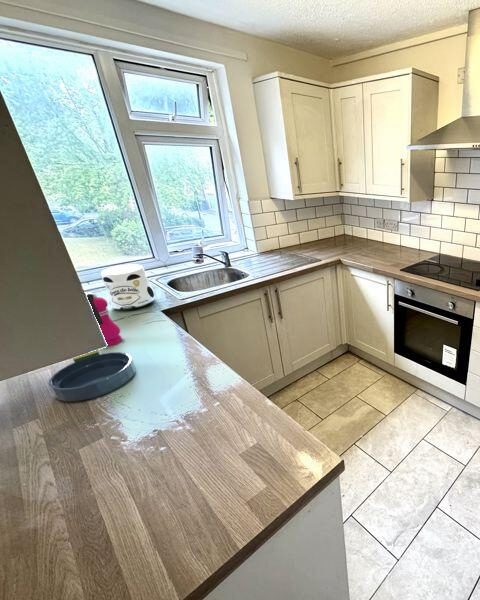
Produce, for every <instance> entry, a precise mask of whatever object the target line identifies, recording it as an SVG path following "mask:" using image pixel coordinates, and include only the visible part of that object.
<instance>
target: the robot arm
mask: <svg viewBox="0 0 480 600" xmlns="http://www.w3.org/2000/svg"><path fill="white" fill-rule="evenodd" d="M85 293H86V295H87V297H88V300H89V302H90V304H91V306H92V309H93V312H94V315H95V317H96V319H97V321H98V323H99V325H102V324H103V321H102V319H101V317H100V315H99V312H98V310H97V308H96V306H95V304H94V302H93V299H94V296H93V294H94V293H92V292H91V291H88V292H85Z"/></svg>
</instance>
